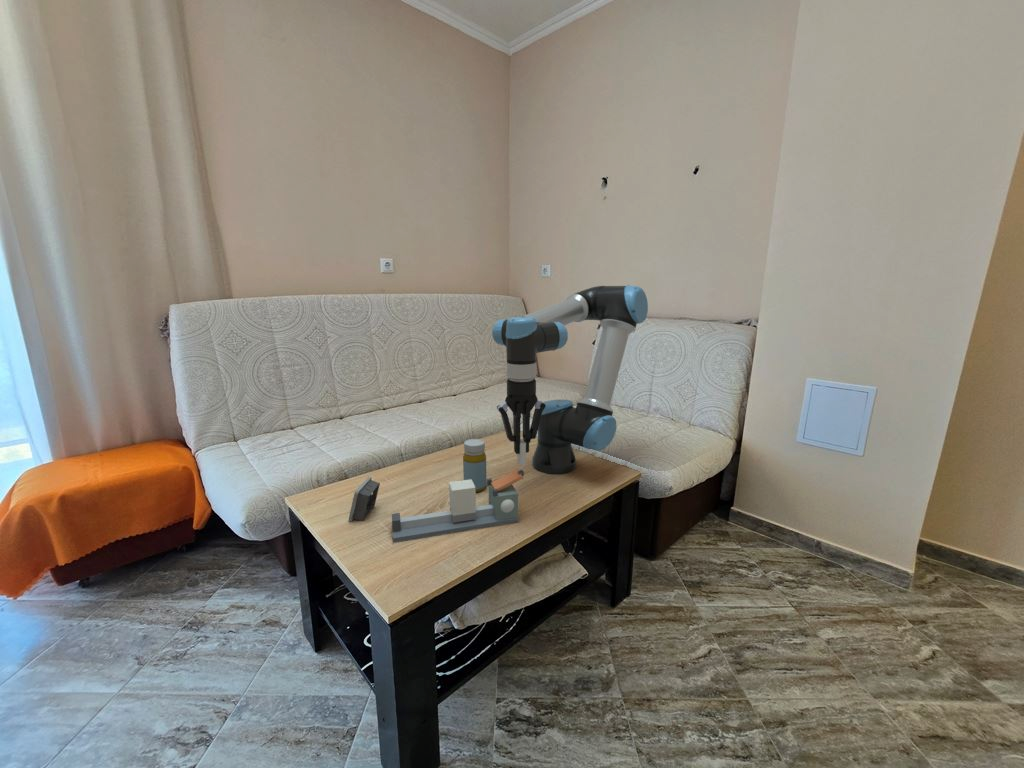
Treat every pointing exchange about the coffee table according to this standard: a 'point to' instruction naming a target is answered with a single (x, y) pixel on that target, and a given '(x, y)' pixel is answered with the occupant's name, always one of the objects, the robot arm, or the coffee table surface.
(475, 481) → the bottle
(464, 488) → the carriage
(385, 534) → the coffee table surface
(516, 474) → the lever
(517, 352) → the robot arm
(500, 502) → the rail bench
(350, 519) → the electrical switch
